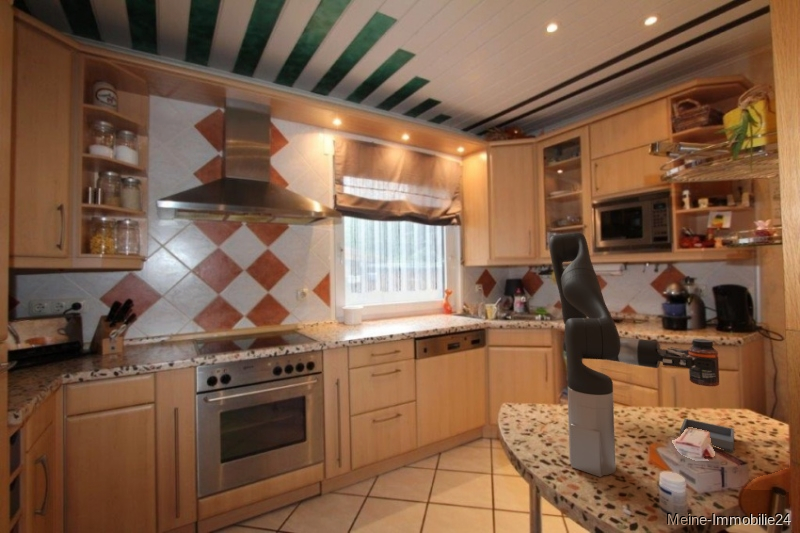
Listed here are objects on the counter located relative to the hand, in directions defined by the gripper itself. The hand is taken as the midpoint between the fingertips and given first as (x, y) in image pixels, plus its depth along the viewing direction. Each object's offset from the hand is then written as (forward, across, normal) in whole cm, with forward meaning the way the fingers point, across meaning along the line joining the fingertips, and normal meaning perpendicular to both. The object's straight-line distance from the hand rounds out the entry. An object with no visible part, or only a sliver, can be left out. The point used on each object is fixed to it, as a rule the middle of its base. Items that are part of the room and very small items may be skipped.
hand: (716, 362), depth 91 cm
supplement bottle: (-2, 0, +6) cm, 7 cm away
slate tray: (-2, 0, +20) cm, 20 cm away
